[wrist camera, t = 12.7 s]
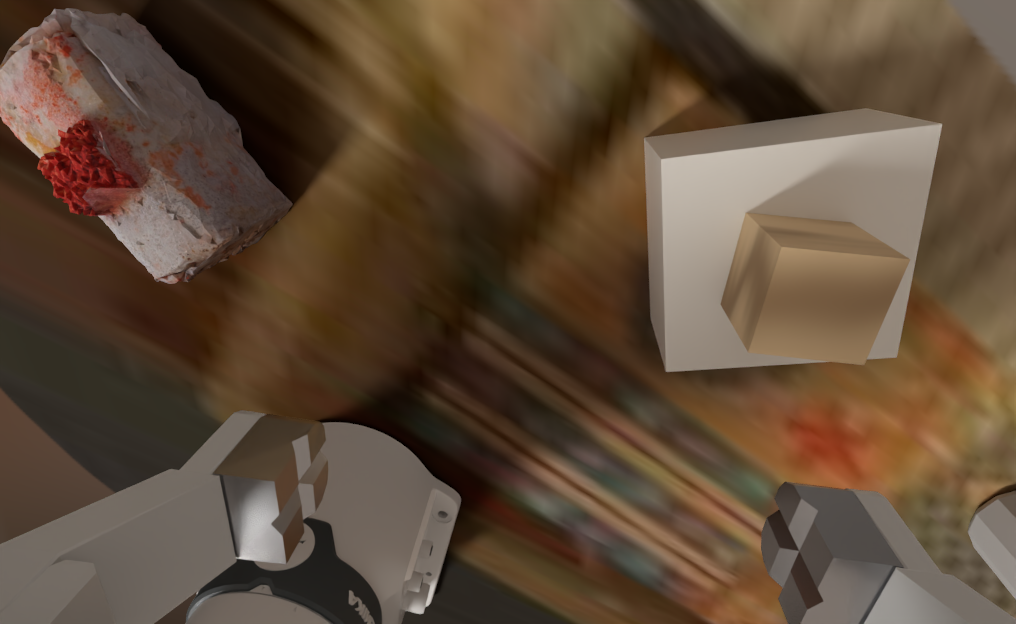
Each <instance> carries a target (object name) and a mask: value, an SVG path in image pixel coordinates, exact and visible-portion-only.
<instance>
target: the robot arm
mask: <svg viewBox="0 0 1016 624" xmlns="http://www.w3.org/2000/svg"><path fill="white" fill-rule="evenodd" d="M775 501H776V503H777V505H778V507H779V509H780V510H778V511H776V512H775V513H773V514H772V515H770V516H769V517H767V519H766V522H765V525H764V527H763V530H762V541H761V550H762V555H763V560H764V563H765V566H766V569H767V571H768V574H769V575H770V576H771V577H772V578H773V579H774V580H775V581H776V582H777V583H778V584H779V585H780V586H781V587H783V589H782V591H781V594H780V596H779V598H778V599H779V602H780V604H781V607H782V609H783V612H784V614H785V617H786V619H787V622H788V624H1016V619H1015V618H1014V617H1012V616H1011V615H1009V614H1008V613H1006V612H1005V611H1004V610H1002V609H1001V608H999V607H998V606H996V605H995V604H993V603H992V602H991V601H989V600H988V599H986V598H985V597H983V596H982V595H980V594H979V593H978V592H976V591H975V590H973V589H972V588H970V587H969V586H967V585H966V584H965V583H963V582H962V581H960V580H959V579H957V578H956V577H954V576H953V575H947V574H942V573H941V572H940V570H939V569H938V567H937V566H936V565H935V563H934V562H933V561H932V559H931V558H930V557H929V555H928V554H927V553H926V551H925V550H924V549H923V547H922V546H921V545H920V543H919V542H918V540H917V539H916V538H915V536H914V535H913V534H912V532H911V531H910V530H909V528H908V527H907V526H906V524H905V523H904V522H903V520H902V519H901V518H900V516H899V515H898V513H897V512H896V511H895V509H894V508H893V507H892V505H891V504H890V503H889V501H888V500H887V499H886V498H885V497H884V496H883V495H881V494H880V493H878V492H874V491H864V490H855V489H840V488H832V487H824V486H816V485H807V484H799V483H791V482H784V483H783V484H782V485H781V486H780V487H779V489H778V492H777V494H776V496H775ZM460 505H461V497H460V495H459V494H458V493H457V492H456V491H455V490H454V489H452V488H451V487H449V486H448V485H446V484H445V483H443V482H441V481H440V480H438V479H436V478H435V477H434V476H433V475H432V474H431V473H430V472H429V471H428V470H427V469H426V468H425V466H424V465H423V464H422V463H421V461H420V460H419V459H418V458H417V457H416V456H415V455H414V454H413V453H412V452H411V451H410V450H409V449H408V448H406V447H405V446H404V445H402V444H401V443H400V442H398V441H396V440H395V439H393V438H391V437H390V436H388V435H386V434H384V433H381V432H379V431H377V430H374V429H371V428H368V427H365V426H361V425H357V424H351V423H342V422H328V423H321V422H319V421H312V420H306V419H299V418H292V417H286V416H279V415H273V414H263V413H257V412H250V411H243V410H241V411H238V412H235V413H233V414H232V415H231V416H230V417H229V418H228V419H227V420H226V421H225V422H224V424H223V425H222V426H221V427H220V428H219V429H218V430H217V431H216V432H215V433H214V434H213V435H212V436H211V437H210V438H209V439H208V440H207V441H206V442H205V444H204V445H203V446H202V447H201V448H200V449H199V450H198V451H197V452H196V453H195V454H194V455H193V456H192V457H191V458H190V459H189V460H188V461H187V462H186V463H185V465H184V466H183V467H182V468H181V469H180V470H173V469H170V470H167V471H165V472H163V473H161V474H158V475H156V476H154V477H152V478H149V479H147V480H145V481H143V482H140V483H138V484H136V485H133V486H131V487H129V488H127V489H124V490H122V491H120V492H118V493H115V494H113V495H111V496H109V497H106V498H104V499H102V500H100V501H97V502H95V503H93V504H91V505H88V506H86V507H84V508H82V509H79V510H77V511H75V512H72V513H70V514H68V515H66V516H63V517H61V518H59V519H57V520H54V521H52V522H50V523H48V524H45V525H43V526H41V527H39V528H36V529H34V530H32V531H30V532H28V533H25V534H23V535H21V536H18V537H16V538H14V539H11V540H9V541H7V542H5V543H2V544H0V624H154V623H155V622H156V621H158V620H159V619H160V618H162V617H163V616H164V615H165V614H167V613H168V612H170V611H171V610H172V609H174V608H175V607H176V606H178V605H179V604H180V603H182V602H183V601H185V600H186V599H187V598H188V597H190V596H191V595H193V594H194V593H195V592H197V591H198V592H197V595H196V597H195V598H194V600H193V602H192V603H191V605H190V607H189V609H188V612H187V615H186V624H401V623H402V620H403V616H404V613H405V611H409V612H410V611H411V612H413V613H418V614H421V613H422V614H423V613H424V609H425V607H426V606H428V605H429V604H430V603H431V601H432V598H433V596H434V593H435V590H436V586H437V583H438V580H439V576H440V573H441V569H442V566H443V563H444V559H445V556H446V552H447V549H448V546H449V542H450V539H451V535H452V532H453V529H454V525H455V522H456V518H457V515H458V512H459V508H460Z"/></svg>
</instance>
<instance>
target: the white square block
mask: <svg viewBox="0 0 1016 624" xmlns="http://www.w3.org/2000/svg"><path fill="white" fill-rule="evenodd" d="M941 129H942V124H941V123H936V122H931V121H927V120H922V119H917V118H912V117H907V116H902V115H897V114H893V113H888V112H883V111H878V110H873V109H868V108H864V109H856V110H849V111H841V112H834V113H826V114H819V115H811V116H804V117H796V118H789V119H781V120H774V121H766V122H759V123H751V124H744V125H736V126H728V127H721V128H713V129H706V130H698V131H691V132H683V133H676V134H668V135H661V136H653V137H646V138H644V148H645V177H646V205H647V234H648V262H649V291H650V319H651V322H652V326H653V329H654V333H655V336H656V339H657V343H658V346H659V350H660V353H661V357H662V360H663V364H664V367H665V371H666V372H675V371H691V370H707V369H723V368H738V367H754V366H770V365H786V364H802V363H818V362H829V361H820V360H811V359H802V358H793V357H784V356H775V355H765V354H756V353H748V351H747V350H746V348H745V346H744V344H743V343H742V341H741V339H740V338H739V336H738V334H737V332H736V331H735V329H734V327H733V325H732V324H731V322H730V320H729V318H728V317H727V315H726V313H725V311H724V310H723V308H722V306H721V305H720V304H721V300H722V297H723V293H724V289H725V286H726V282H727V279H728V275H729V271H730V268H731V264H732V260H733V257H734V253H735V250H736V246H737V242H738V239H739V235H740V231H741V228H742V224H743V221H744V217H745V213H755V214H766V215H777V216H787V217H798V218H809V219H820V220H830V221H841V222H852V223H853V224H855V225H856V226H858V227H860V228H861V229H863V230H864V231H866V232H868V233H869V234H871V235H872V236H874V237H876V238H877V239H879V240H880V241H882V242H883V243H885V244H887V245H888V246H890V247H891V248H893V249H895V250H896V251H898V252H899V253H901V254H903V255H904V256H906V257H907V258H909V259H910V262H909V264H908V266H907V268H906V271H905V273H904V275H903V277H902V280H901V282H900V284H899V287H898V289H897V291H896V293H895V296H894V298H893V300H892V303H891V305H890V307H889V309H888V312H887V314H886V316H885V319H884V321H883V323H882V325H881V328H880V330H879V332H878V335H877V337H876V339H875V341H874V344H873V346H872V348H871V351H870V353H869V355H868V357H867V359H881V358H897V354H898V349H899V344H900V339H901V333H902V328H903V323H904V318H905V313H906V308H907V303H908V298H909V293H910V287H911V282H912V277H913V272H914V267H915V262H916V257H917V252H918V246H919V241H920V236H921V231H922V226H923V221H924V216H925V211H926V206H927V200H928V195H929V190H930V185H931V180H932V175H933V170H934V165H935V159H936V154H937V149H938V144H939V139H940V134H941Z"/></svg>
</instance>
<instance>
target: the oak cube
mask: <svg viewBox="0 0 1016 624" xmlns="http://www.w3.org/2000/svg"><path fill="white" fill-rule="evenodd" d="M909 262H910V259H909V258H907V257H906V256H904V255H903V254H901V253H899V252H898V251H896V250H895V249H893V248H891V247H890V246H888V245H887V244H885V243H883V242H882V241H880V240H879V239H877V238H876V237H874V236H872V235H871V234H869V233H868V232H866V231H864V230H863V229H861V228H860V227H858V226H856V225H855V224H853V223H852V222H841V221H830V220H820V219H809V218H798V217H787V216H777V215H766V214H755V213H745V217H744V221H743V224H742V228H741V231H740V235H739V239H738V242H737V246H736V250H735V253H734V257H733V260H732V264H731V268H730V271H729V275H728V279H727V282H726V286H725V289H724V293H723V297H722V300H721V304H720V305H721V306H722V308H723V310H724V311H725V313H726V315H727V317H728V318H729V320H730V322H731V324H732V325H733V327H734V329H735V331H736V332H737V334H738V336H739V338H740V339H741V341H742V343H743V344H744V346H745V348H746V350H747V351H748V353H756V354H765V355H775V356H784V357H793V358H802V359H811V360H820V361H829V362H838V363H847V364H856V365H864V364H865V362H866V360H867V357H868V355H869V353H870V351H871V348H872V346H873V344H874V341H875V339H876V337H877V335H878V332H879V330H880V328H881V325H882V323H883V321H884V319H885V316H886V314H887V312H888V309H889V307H890V305H891V303H892V300H893V298H894V296H895V293H896V291H897V289H898V287H899V284H900V282H901V280H902V277H903V275H904V273H905V271H906V268H907V266H908V264H909Z"/></svg>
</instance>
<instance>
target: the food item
mask: <svg viewBox="0 0 1016 624" xmlns="http://www.w3.org/2000/svg"><path fill="white" fill-rule="evenodd" d="M0 117H1V118H2V120H3V123H5V124H6V125H7V126H9V127H10V129H11V130H12V132H13V133H14V134H15V136H16V137H17V138H18V139H19V140H20V141H22V142H23V143H24V144H25V145H26V146H27V147H28V148H29V149H30V150H31V151H33V152H34V153H35V154H36V155H37V156H38V157H39V158H40V161H39V164H38V169H39V170H41V171H42V174H43V175H45V178H46V179H49V180H50V181H51V182H52V184H53V185H54V193H53V196H55V197H56V198H62V199H64V201H63V202H65V203H68V204H69V207H70V212H72V213H77V214H78V215H79V214H81V213H82V212H83V213H84V215H89V216H99V217H100V218H101V219H102V220H103V221H104V222H105V224H106V225H107V226H109V228H110V229H111V230H112V231H113V232H114V234H115V235H116V237H117V238H118V240H120V241H122V242H123V244H124V245H125V246H126V247H127V248H128V249H129V251H130V252H131V253H132V254H133V255H134V256H135V257H136V258H137V260H138V261H139V262H141V263H142V264H143V265H144V266H145V267H146V268H147V270H148V272H150V273H151V274H152V275H153V276H154V278H155V281H157V282H158V281H159V280H161V281H163V282H166V283H170V284H175V283H176V282H178V281H186V282H189V281H190V280H192V279H193V278H194V277H195V276H196V275H197V274H199V273H201V272H202V271H204V270H205V269H207V268H211V267H212V266H214V265H216V263H219V262H221V261H224V260H228V258H229V255H231V254H233V255H236V254H239V253H241V252H243V250H244V249H245V248H247V247H249V246H250V245H251V244H255V243H257V242H258V241H259V240H260V239H261V237H262V236H263V235H264V234H265V233H266V231H267V230H268V229H270V228H271V227H272V226H273V225H275V224H276V223H277V222H279V221H280V219H281V218H282V217H283V216H285V215H286V214H287V212H288V210H289V209H290V207H291V206H292V205H293V203H292V202H291V201H290V200H289V199H288V198H287V197H286V196H284V195H283V193H282V192H281V191H280V190H279V189H278V188H277V187H275V186H274V185H273V184H272V183H271V182H270V181H269V180H268V179H267V178H266V177H265V174H264V172H263V171H262V170H261V168H260V167H259V166H258V164H257V163H256V162H255V160H254V159H253V158H252V157H251V156H250V154H249V153H248V152H247V151H246V150H245V149H244V148H243V143H242V136H241V130H240V127H239V125H238V123H237V120H236V119H235V118H234V117H233V116H232V115H230V114H228V113H227V112H226V111H225V110H224V109H223V108H222V107H221V105H220V104H219V103H218V102H216V101H213V100H211V99H209V98H208V97H207V96H206V94H205V93H204V91H203V89H202V88H201V86H200V84H199V82H198V81H197V79H196V78H195V77H193V76H191V75H190V74H188V73H187V72H185V71H184V70H182V69H180V68H179V67H178V65H177V64H176V63H175V62H174V60H173V59H172V58H171V57H170V56H169V55H168V54H167V53H166V52H165V51H163V50H162V47H161V45H160V44H159V43H157V42H156V40H155V39H154V38H153V36H152V35H151V34H150V32H149V31H147V30H146V27H145V26H143V25H141V24H139V23H137V21H136V20H135V19H134V18H132V17H131V16H130V15H128V14H126V13H122V14H121V16H118V15H116V14H113V13H109V14H94V13H91V12H82V11H80V10H77V9H69V8H67V9H66V10H59V9H54V11H53V12H52V14H51V15H49V16H48V17H46V18H45V19H44V21H43V23H42V24H41V25H40V26H39V27H35V28H31V29H30V30H28V31H27V32H26V33H25V34H24V35H23V36H22V37H21V38H19V39H18V40H17V42H16V43H15V44H14V45H13V46H12V47H11V48H10V49H9V50H8V52H7V54H6V56H5V58H4V60H3V62H2V64H1V65H0Z"/></svg>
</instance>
